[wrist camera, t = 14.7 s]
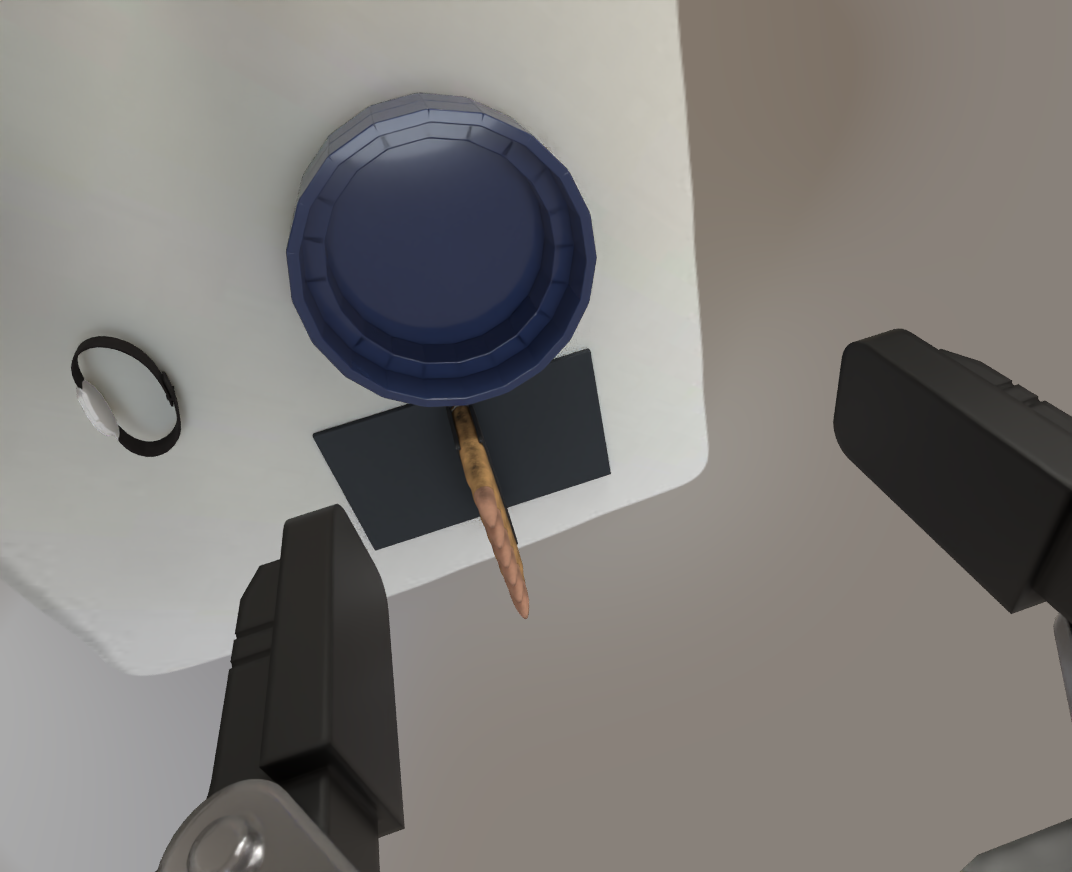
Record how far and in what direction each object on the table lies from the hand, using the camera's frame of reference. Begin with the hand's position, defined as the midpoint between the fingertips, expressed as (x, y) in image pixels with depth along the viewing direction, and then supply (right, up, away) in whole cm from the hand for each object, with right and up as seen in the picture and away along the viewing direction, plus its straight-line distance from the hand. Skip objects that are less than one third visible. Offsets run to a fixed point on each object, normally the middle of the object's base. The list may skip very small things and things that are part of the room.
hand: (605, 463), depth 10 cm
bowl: (-7, +12, +28) cm, 31 cm away
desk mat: (-6, -1, +38) cm, 38 cm away
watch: (-25, +4, +28) cm, 38 cm away
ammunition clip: (-6, -1, +37) cm, 38 cm away
